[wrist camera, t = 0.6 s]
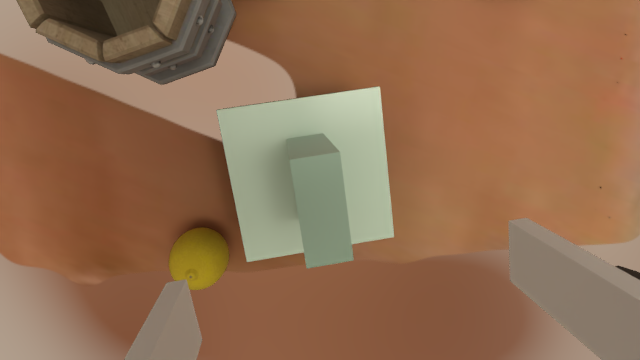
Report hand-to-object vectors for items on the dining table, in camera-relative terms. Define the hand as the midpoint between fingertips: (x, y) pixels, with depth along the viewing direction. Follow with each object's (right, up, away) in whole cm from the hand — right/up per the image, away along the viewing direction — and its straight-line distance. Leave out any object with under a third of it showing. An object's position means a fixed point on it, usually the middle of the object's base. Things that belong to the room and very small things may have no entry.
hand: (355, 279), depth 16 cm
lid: (-2, +5, +19) cm, 19 cm away
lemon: (-14, -3, +27) cm, 30 cm away
